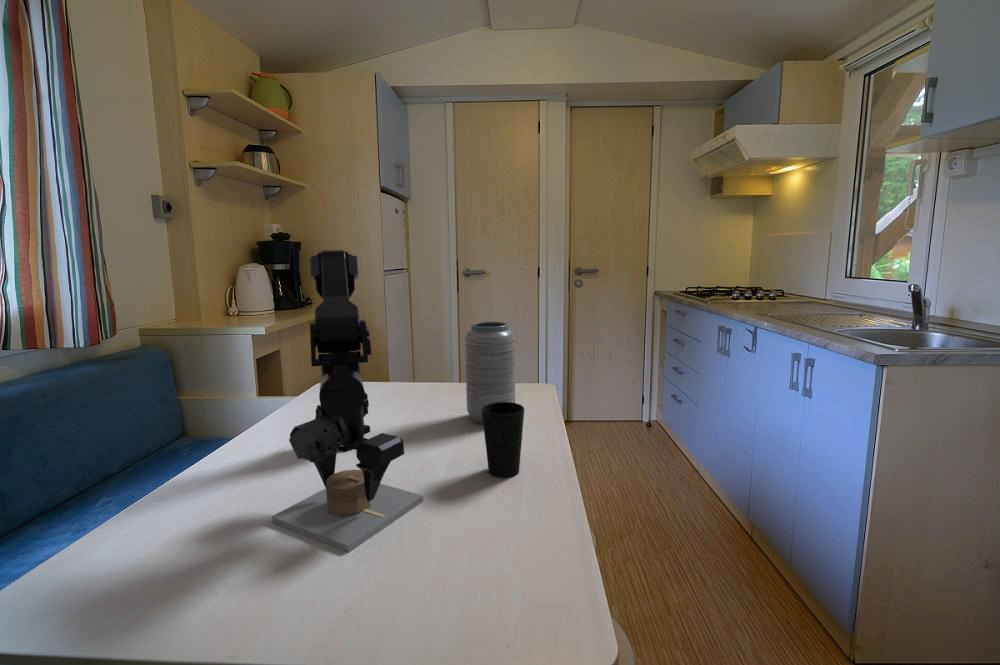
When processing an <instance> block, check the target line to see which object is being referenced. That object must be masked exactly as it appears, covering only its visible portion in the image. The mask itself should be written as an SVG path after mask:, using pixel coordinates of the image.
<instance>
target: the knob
mask: <svg viewBox="0 0 1000 665" xmlns="http://www.w3.org/2000/svg"><path fill="white" fill-rule="evenodd" d="M326 484H327V485H326V488H325V489H326V494H327V506H328V512H329V513H332V514H335V515H338V516H345V515H351V514H358V513H360V512H361V511H363V510H365V509H366V508H368V507H370V501H367V498H366V493H365V485H364V476H363V471H362V470H361V469H346V470H341V471H339V472H335V473H334V474H333V475H331V476H330V477H328V478H327V480H326Z"/></svg>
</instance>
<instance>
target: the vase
mask: <svg viewBox="0 0 1000 665" xmlns="http://www.w3.org/2000/svg"><path fill="white" fill-rule="evenodd" d="M515 342H516V338H515V334H514V333H513V332H512V330H511V329H509V324H508V323H507V322H504V321H481V322H474V323H471V325H470V329H469V331H468V332H467V333H466V335H465V338H464V349H465V352H464V353H465V391H466V393H465V394H466V410H467V413H468V415H469V416H470V417H471V418H472V419H473V421H474V422H475V423H476V424H481V425H483V418H482V407H484V406H485V405H487V404H491V403H496V402H511V403H516V402H517V401H516V344H515Z"/></svg>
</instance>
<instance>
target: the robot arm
mask: <svg viewBox="0 0 1000 665" xmlns="http://www.w3.org/2000/svg"><path fill="white" fill-rule="evenodd" d="M308 258H309V270H310V271H309V272H310V274H309V275H310V279H311V281H315V291H316V292H317V294H318V295H319V296H320V298H321V299H322V302H320V304H319V305H317V306H316V307H315V308H314V322H310V323H309V333H310V335H309V336H310V337H309V338H310V355H311V356H310V361H311V362H310V363H311V367H320V380H321V381H320V385H319V393H318V395H319V396H318V399H319V402H320V404H318V405H316V409H315V418H314V419H312V420H309V421H306V422H303V423H300V424H298V425H295V426H293V428H292V430H291V431H290V434H289V439H288V442H289V444H290V446H291V448H292V450H293V452H294V454H295V456H296V458H297V460H298V459H299V460H301V459H302V460H306V461H309V462H310V463H312V464H313V465H314V466H315V468H316V470H317V472H318V475H319V477H320V479H321V481H322V482H323V486H324V487H325V488H324V489H326V485H327V484H326V480H327V478H328V477H330V476H331V475H333V474H335V473H336V472H335V471H336V462H337V453H338V450H339V451H343V452H347V451H350V450H355V451H356V458H357V460H358V461H359V463H357V464H355V467H356V468H358V470H362V471H363V476H364V485H365V493H366V498H367V501H371V500H373V499H374V497H375V495H376V492H377V490H378V487H379V485H380V484H382V480H383V477H384V475H385V473H386V471H387V470H388V467H389V465H390V463H391V462H392V461H394V460H396V459H398V458H400V457H401V456H403V455H405V445H404V440H403V439H402V437H400V436H397V435H392V434H387V433H384V432H383V433H379V434H377V435H374V436H372V437H370V438H366V437H365V435H366V434H370V433H371V425H368V424H365V419H364V418H365V417H366V415H368V414H369V407H370V406H369V404H370V403H369V399H368V398H369V397H368V393H366V392H365V388H364V383H363V379H362V371H361V370H362V369H361V364H363V363H368V362H369V358H368V357H369V356H371V355H372V345H371V344H372V343H371V337H370V336H371V335H370V327H369V326H368V325H367V323H366V321H365V320H364V319H360V311H359V307H358V305H356V304H355V303H354V302H352V301H351V300H350V299H351V297H352V295H353V294H354V291H355V289H356V287H355V285H356V284H355V280H358V279H359V266H358V264H359V263H358V256H357V255H353V254H350V253H349V251H346V250H344V249H331V250H329V249H326V250H325V249H323V250H321V251H317V254H316V255H315V254H314V255H313V256H310V257H308ZM361 348H362V354H361ZM317 353H318V355H317Z"/></svg>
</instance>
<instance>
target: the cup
mask: <svg viewBox="0 0 1000 665" xmlns="http://www.w3.org/2000/svg"><path fill="white" fill-rule="evenodd" d="M524 417H525V407H524V406H523V405H522V404H520V403H511V402H496V403H491V404H487V405H485V406H484V407H482V418H483V424H482V425H483V434H484V441H485V449H486V450H485V452H486V457H487V458H486V460H487V467H488V474H489V475H490V476H492V477H494V478H498V479H499V478H500V479H509V478H512V477H513V478H514V477H516V476H517V475H519V474H520V465H521V456H522V455H521V453H522V452H521V451H522V442H523V431H524V430H523V428H524Z"/></svg>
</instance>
